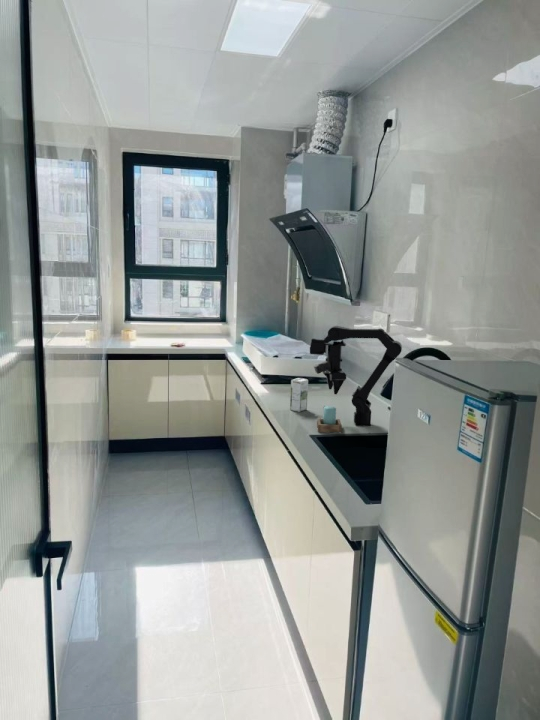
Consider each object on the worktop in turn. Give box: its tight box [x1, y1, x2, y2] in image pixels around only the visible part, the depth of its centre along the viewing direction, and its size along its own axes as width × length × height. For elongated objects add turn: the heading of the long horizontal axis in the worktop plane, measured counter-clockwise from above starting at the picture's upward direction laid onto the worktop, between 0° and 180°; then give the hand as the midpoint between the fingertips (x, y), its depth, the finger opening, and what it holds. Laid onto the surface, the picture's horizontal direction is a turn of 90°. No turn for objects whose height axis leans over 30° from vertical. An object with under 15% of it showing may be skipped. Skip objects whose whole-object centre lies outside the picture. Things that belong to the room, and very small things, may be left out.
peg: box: [322, 405, 337, 425], centre depth 228 cm, size 5×5×9 cm
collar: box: [316, 418, 343, 433], centre depth 228 cm, size 9×9×3 cm
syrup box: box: [289, 377, 309, 413], centre depth 256 cm, size 6×6×14 cm
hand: (332, 391), depth 238 cm, fingers open, 9 cm apart
